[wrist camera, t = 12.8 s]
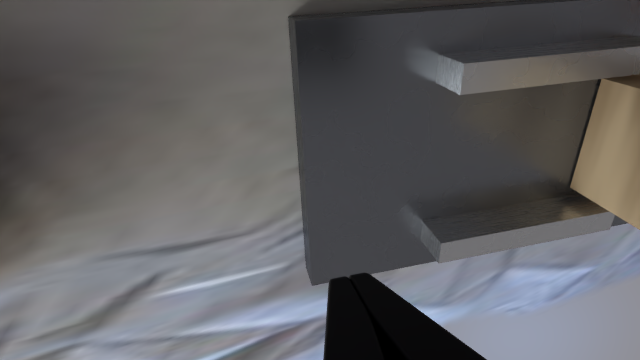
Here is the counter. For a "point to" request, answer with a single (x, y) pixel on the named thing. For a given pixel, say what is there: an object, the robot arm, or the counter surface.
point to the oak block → (613, 150)
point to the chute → (449, 127)
